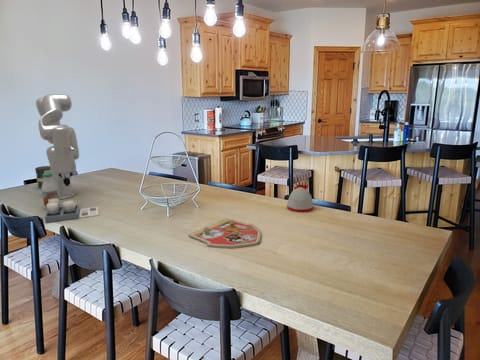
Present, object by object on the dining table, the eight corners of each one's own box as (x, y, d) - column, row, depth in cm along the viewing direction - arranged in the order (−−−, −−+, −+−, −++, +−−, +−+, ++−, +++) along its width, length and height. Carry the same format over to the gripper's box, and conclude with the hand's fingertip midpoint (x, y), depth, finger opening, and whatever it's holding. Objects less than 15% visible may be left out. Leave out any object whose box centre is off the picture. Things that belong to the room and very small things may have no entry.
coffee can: (37, 190, 234) (34, 169, 230) (38, 187, 243) (35, 166, 239) (55, 188, 238) (52, 168, 234) (55, 185, 247) (52, 165, 244)
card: (80, 210, 194) (80, 208, 194) (97, 207, 197) (97, 206, 197) (79, 218, 181) (79, 216, 181) (98, 215, 185) (98, 214, 184)
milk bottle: (41, 209, 196) (35, 174, 191) (54, 205, 202) (49, 171, 198) (50, 211, 192) (45, 175, 187) (63, 207, 199) (58, 172, 194)
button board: (48, 213, 189) (47, 208, 188) (79, 209, 194) (78, 204, 194) (45, 223, 175) (44, 217, 175) (78, 218, 181) (77, 213, 180)
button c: (48, 212, 181) (47, 202, 179) (59, 210, 182) (58, 201, 181) (47, 215, 176) (46, 205, 175) (58, 213, 178) (57, 204, 177)
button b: (66, 211, 191) (65, 202, 189) (76, 209, 193) (75, 201, 191) (65, 214, 186) (64, 204, 185) (76, 212, 188) (74, 203, 187)
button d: (64, 210, 183) (63, 200, 182) (75, 208, 185) (74, 199, 184) (64, 213, 179) (62, 203, 178) (74, 211, 181) (73, 202, 179)
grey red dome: (312, 213, 184) (314, 185, 180) (286, 211, 187) (286, 184, 183) (313, 204, 197) (314, 178, 193) (288, 203, 200) (288, 177, 196)
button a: (50, 207, 187) (48, 198, 186) (60, 206, 189) (59, 197, 188) (49, 210, 183) (47, 201, 182) (59, 209, 185) (58, 200, 183)
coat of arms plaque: (228, 220, 177) (228, 211, 176) (278, 234, 159) (278, 225, 158) (184, 239, 155) (184, 229, 154) (236, 258, 137) (236, 247, 136)
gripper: (78, 148, 187) (83, 182, 192) (47, 150, 182) (52, 185, 187) (78, 151, 181) (82, 185, 186) (45, 153, 175) (50, 189, 180)
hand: (67, 185), depth 186 cm, fingers closed
